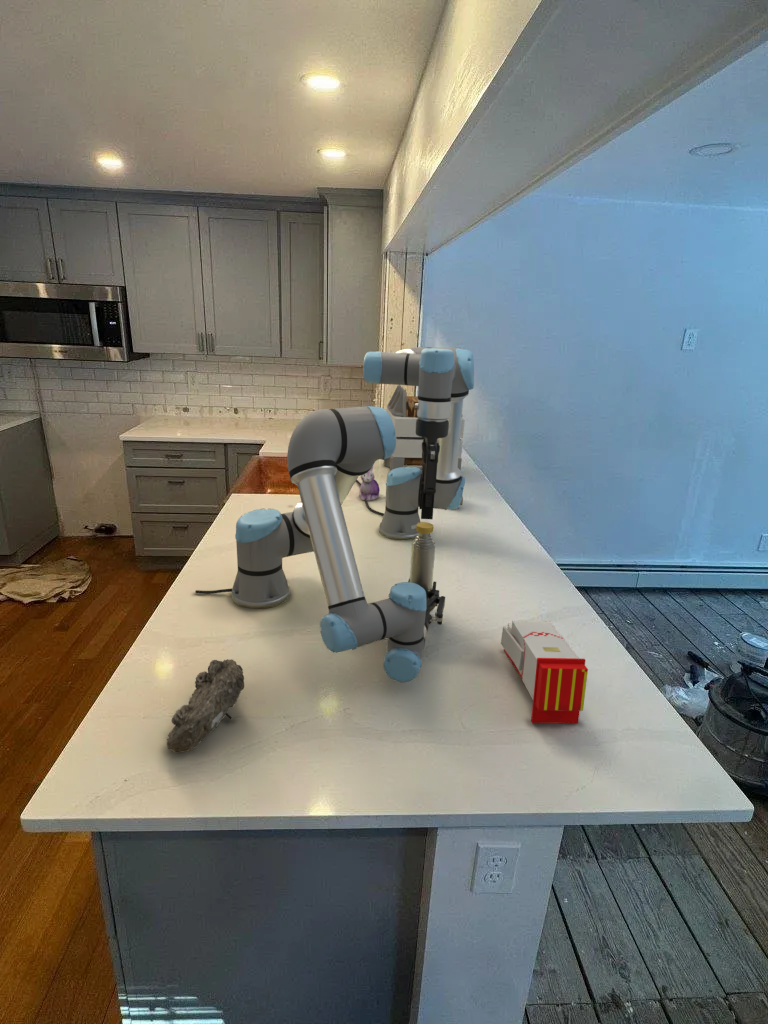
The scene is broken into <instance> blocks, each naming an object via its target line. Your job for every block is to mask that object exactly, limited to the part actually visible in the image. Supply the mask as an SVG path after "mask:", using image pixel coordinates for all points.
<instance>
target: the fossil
mask: <svg viewBox="0 0 768 1024" xmlns="http://www.w3.org/2000/svg"><path fill="white" fill-rule="evenodd" d="M243 670H244V669H243V667H242V665H240V664H237V662H236V661H235V660H234V659H232V658H231V659H227V658H226V659H224V660H223V661H222V660H217V659H212V660H211V661H210V663H209V665H208V666H207V671H201V672H199V673H198V674H197V675H196V676H195V680H194V684H195V685H194V687H195V689H194V690H193V693H192V694H191V697H190V698H189V700H188V704H184V705H182V706H181V707H180V709H177V710H176V711H175V713H174V715H173V716H172V718H171V723H172V724H173V727H172V730H171V731H170V732H168V734H167V738H166V741H167V742H166V745H167V749H168V750H169V751H173V752H174V753H176V754H178V753H182V752H188V751H189V752H192V751H193V750H195V748H196V747H197V746H199V744H200V743H201V742H203V741H204V740H205V739H206V738H207V737H208V736H209V735H210V734H211V733H212V732H214V730H215V729H217V727H218V726H219V724H220V722H221V721H222V720H223V719H224V718H225V716H226V717H227V719H229V720H233V717H232V715H230V714H229V710H230V709H231V708H234V706H235V704H236V703H237V702H238V699H239V697H240V695H241V693H242V691H243V690H245V689H244V688H245V675H244V671H243Z"/></svg>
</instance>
